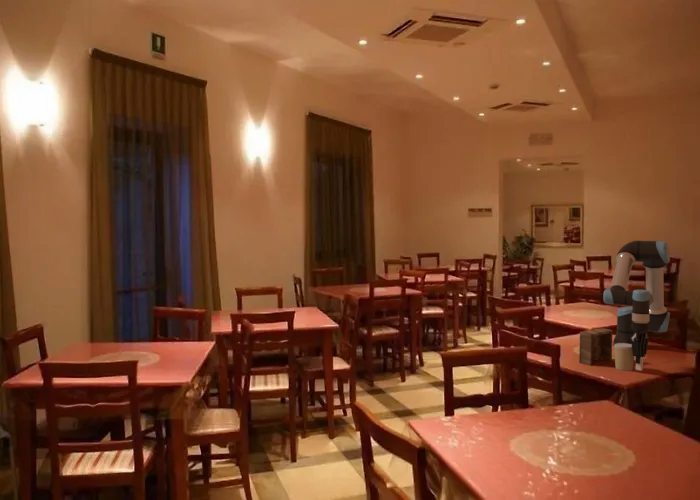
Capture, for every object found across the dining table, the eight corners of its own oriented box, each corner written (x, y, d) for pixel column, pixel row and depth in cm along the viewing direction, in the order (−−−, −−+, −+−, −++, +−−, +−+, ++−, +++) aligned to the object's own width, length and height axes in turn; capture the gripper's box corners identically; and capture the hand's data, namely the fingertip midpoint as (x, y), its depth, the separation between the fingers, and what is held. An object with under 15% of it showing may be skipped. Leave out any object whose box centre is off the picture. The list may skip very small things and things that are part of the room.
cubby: (600, 358, 297) (601, 328, 296) (611, 360, 292) (612, 330, 291) (579, 362, 288) (579, 331, 287) (590, 365, 282) (590, 334, 281)
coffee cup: (630, 366, 281) (630, 343, 280) (637, 371, 271) (638, 347, 271) (610, 366, 281) (611, 342, 281) (617, 371, 272) (618, 347, 271)
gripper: (640, 319, 275) (639, 366, 276) (625, 322, 268) (623, 370, 270) (655, 321, 269) (654, 369, 270) (640, 324, 262) (638, 373, 263)
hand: (639, 369), depth 270 cm, fingers closed
